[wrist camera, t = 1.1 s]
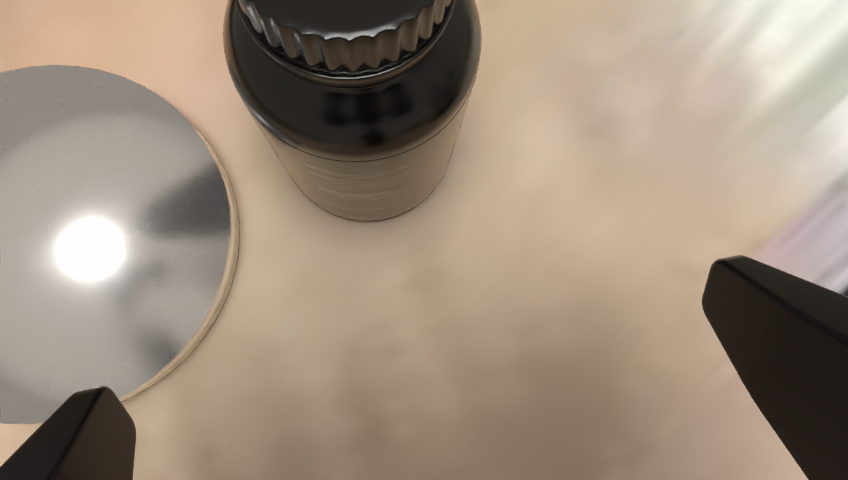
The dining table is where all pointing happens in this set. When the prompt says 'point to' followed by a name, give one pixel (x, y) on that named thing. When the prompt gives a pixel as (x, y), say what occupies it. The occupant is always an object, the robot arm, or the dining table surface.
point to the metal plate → (103, 237)
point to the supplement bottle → (356, 93)
